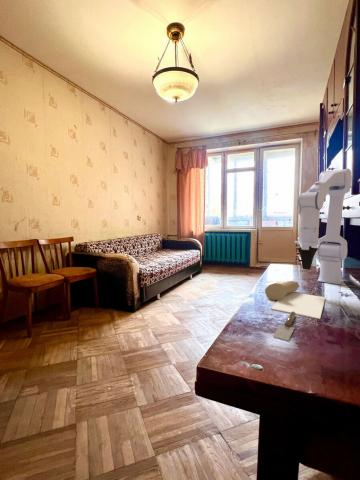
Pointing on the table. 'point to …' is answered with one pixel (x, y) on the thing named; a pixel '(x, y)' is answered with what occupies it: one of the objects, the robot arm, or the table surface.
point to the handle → (280, 289)
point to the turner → (285, 329)
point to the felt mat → (300, 304)
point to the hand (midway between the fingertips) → (306, 269)
